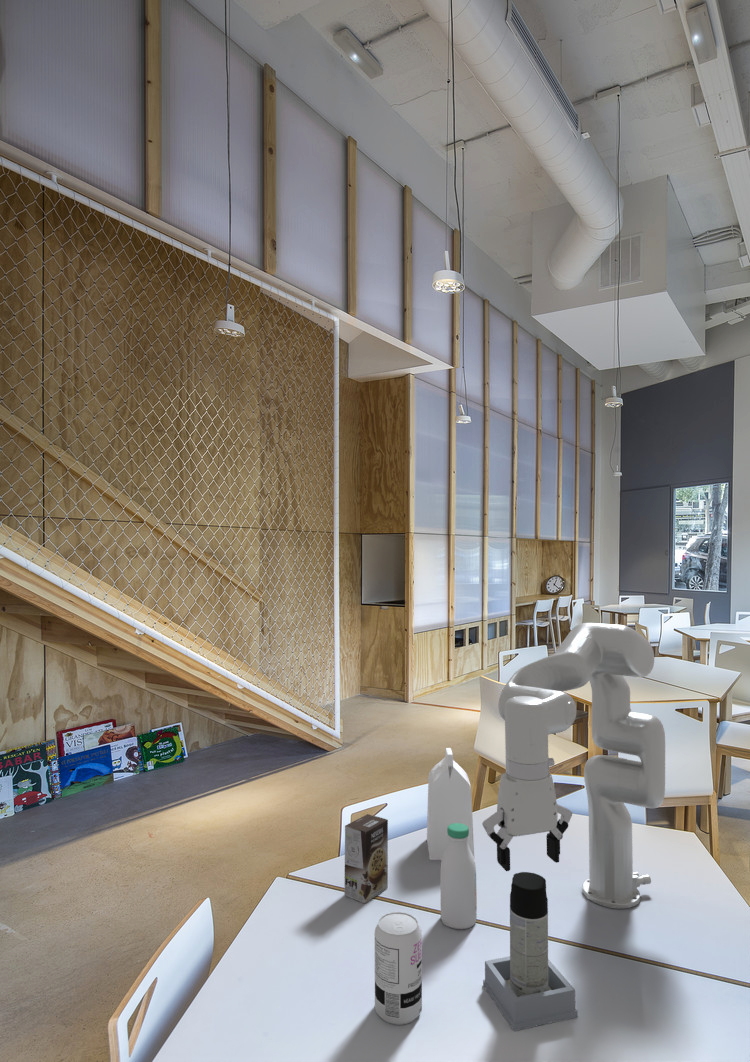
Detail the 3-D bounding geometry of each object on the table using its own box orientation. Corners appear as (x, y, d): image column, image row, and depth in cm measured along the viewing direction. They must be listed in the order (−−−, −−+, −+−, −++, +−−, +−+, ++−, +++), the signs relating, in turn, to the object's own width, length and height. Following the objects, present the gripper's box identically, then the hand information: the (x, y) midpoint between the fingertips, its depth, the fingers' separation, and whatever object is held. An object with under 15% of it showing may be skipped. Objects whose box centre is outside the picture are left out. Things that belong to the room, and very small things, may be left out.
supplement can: (372, 996, 119) (372, 911, 119) (418, 993, 120) (418, 909, 120) (376, 1028, 111) (376, 937, 111) (425, 1025, 112) (425, 935, 112)
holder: (541, 973, 125) (541, 949, 125) (577, 1017, 114) (577, 990, 114) (483, 985, 122) (483, 960, 122) (514, 1031, 110) (513, 1003, 110)
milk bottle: (475, 932, 139) (475, 835, 139) (438, 928, 140) (438, 832, 141) (477, 912, 146) (476, 820, 147) (442, 908, 148) (442, 818, 148)
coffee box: (365, 904, 150) (365, 832, 150) (343, 895, 153) (343, 825, 154) (389, 888, 157) (388, 819, 157) (367, 879, 161) (367, 812, 161)
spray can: (550, 985, 120) (549, 873, 121) (547, 1010, 114) (546, 892, 114) (512, 978, 122) (511, 868, 123) (507, 1001, 116) (506, 885, 116)
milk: (474, 860, 171) (473, 758, 171) (429, 859, 171) (429, 758, 172) (468, 839, 183) (467, 744, 183) (426, 839, 183) (426, 744, 184)
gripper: (558, 755, 125) (560, 846, 125) (473, 766, 120) (475, 860, 120) (581, 769, 118) (583, 865, 118) (492, 780, 113) (494, 881, 113)
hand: (529, 863), depth 119 cm, fingers open, 9 cm apart
